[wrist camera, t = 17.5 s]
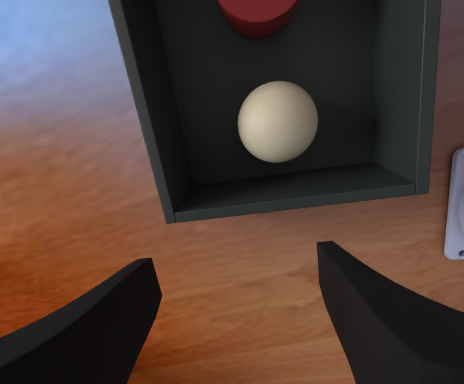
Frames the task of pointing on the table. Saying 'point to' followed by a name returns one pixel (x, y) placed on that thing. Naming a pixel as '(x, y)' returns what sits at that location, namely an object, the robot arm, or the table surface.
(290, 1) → the red cylinder
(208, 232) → the table surface
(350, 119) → the bin
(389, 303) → the robot arm
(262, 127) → the beige ball
